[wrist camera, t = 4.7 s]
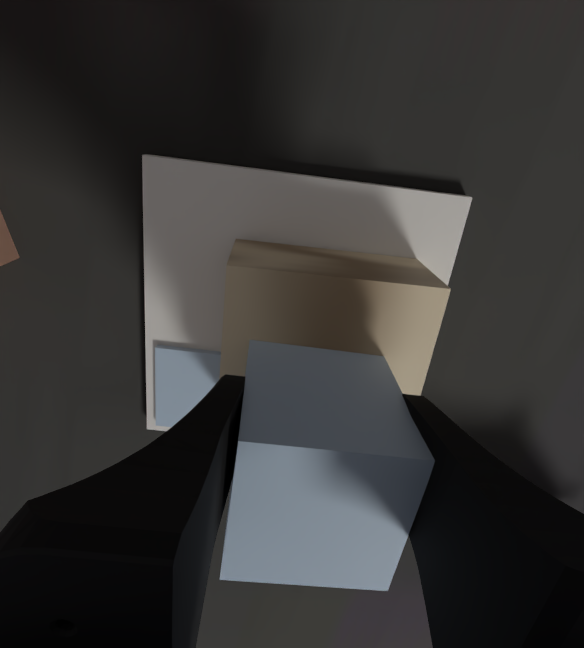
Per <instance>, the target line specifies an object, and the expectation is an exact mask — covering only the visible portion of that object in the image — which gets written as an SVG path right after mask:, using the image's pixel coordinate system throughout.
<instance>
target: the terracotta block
mask: <svg viewBox="0 0 584 648" xmlns="http://www.w3.org/2000/svg"><path fill="white" fill-rule="evenodd" d="M18 258H20V257H19V255H18V252H17V250H16V248H15V245H14V243H13V240H12V238H11V235H10V233H9V230H8V228H7V225H6V223H5V221H4V218H3V216H2V213H1V211H0V266H2V265H4V264H6V263H9V262H11V261H13V260H15V259H18Z"/></svg>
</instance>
